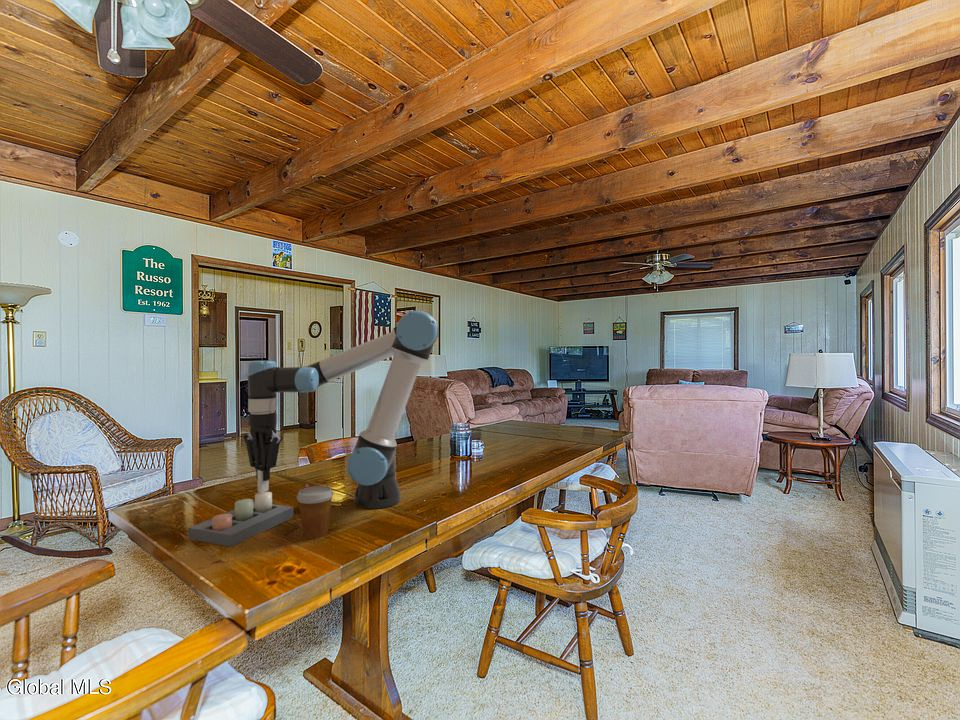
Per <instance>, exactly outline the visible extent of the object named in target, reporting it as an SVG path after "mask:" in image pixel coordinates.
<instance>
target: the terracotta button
mask: <svg viewBox="0 0 960 720" xmlns="http://www.w3.org/2000/svg"><path fill="white" fill-rule="evenodd" d="M211 519H212V528H213V530H217V531H222V530H225V529H227V528H229V527H232V514H225V513H220V514H216V515H214V516H212V518H211Z"/></svg>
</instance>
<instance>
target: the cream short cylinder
mask: <svg viewBox="0 0 960 720" xmlns="http://www.w3.org/2000/svg"><path fill="white" fill-rule="evenodd" d="M254 502H255V512H260V513H265V512H267V511H269V510H272V504H273V492H272V491H265V492H262V493H261V492H257V493H256V494H254Z"/></svg>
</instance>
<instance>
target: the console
mask: <svg viewBox="0 0 960 720" xmlns="http://www.w3.org/2000/svg"><path fill="white" fill-rule="evenodd" d="M224 514H232V527H229V528H227V529H225V530H222V531H217V530H213V528H212V518H210V519H207V520H204V521H202V522H200V523H199V522H198V523H197V524H194V525H192V526H190V527H188V528H187V529H188V530H187V531H188V540H192V539H193V540H192V541H198V542H203V543H209V544H214V545H218V546H224V547H228V548H231V547H234V546H236V545H237V544H240V543H243V542H244V541H246V540H249V539H250V538H252V537H254V536H257V535H258V534H261V533H264V532H265V531H267V530H269V529H271V528H273V527H276V526H277V525H279V524H282V523H283V522H287V521H289V520H290V519H293V518H294V507H293V506H288V505H280V504H276V503H275V504H274V503H272V510H269V511H267V512H265V513H260V512H255V501H253V518H251V519H248V520H246V521H244V522H243V521H237V520H235V509H234V510H230V511H228V512H225V513H224Z"/></svg>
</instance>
